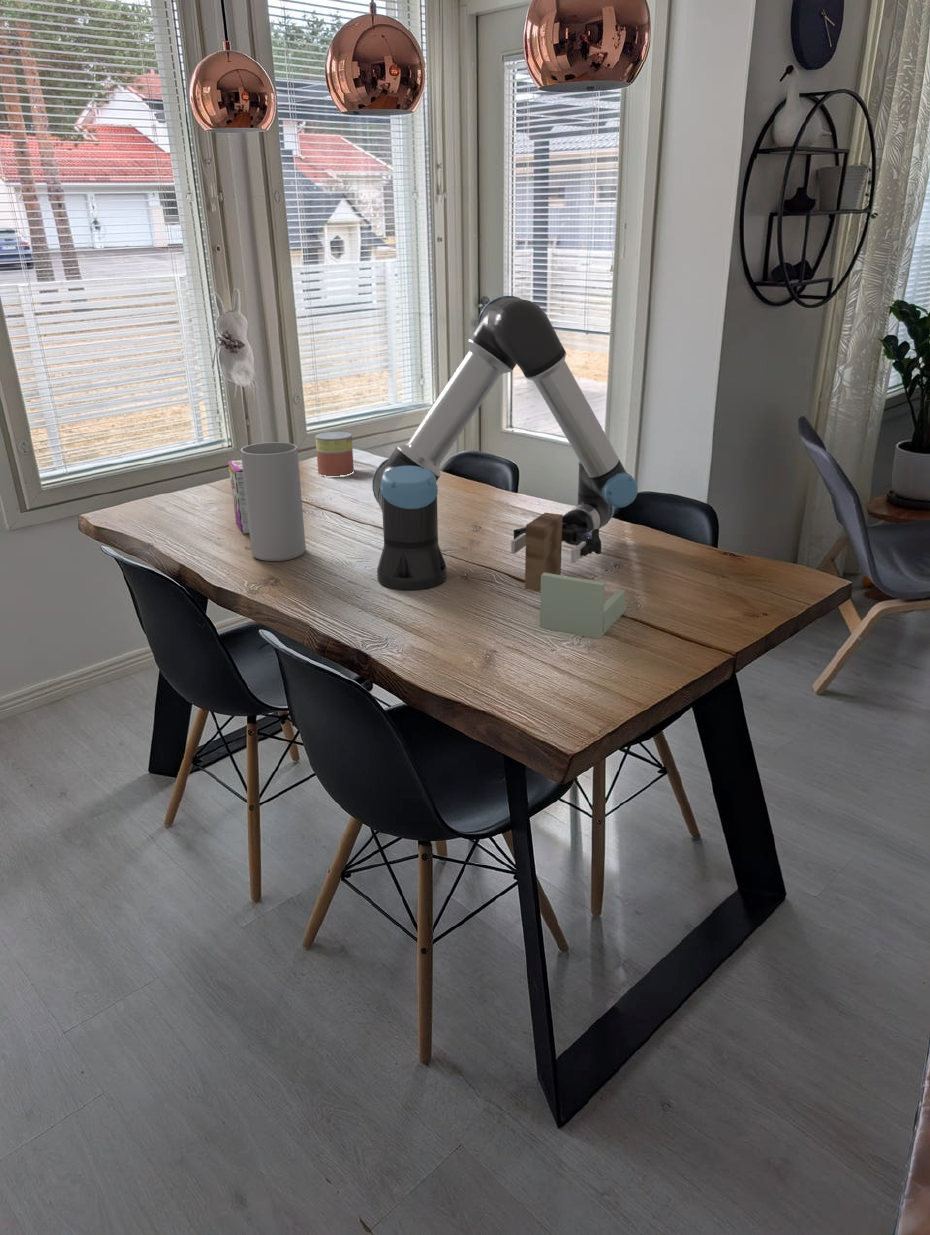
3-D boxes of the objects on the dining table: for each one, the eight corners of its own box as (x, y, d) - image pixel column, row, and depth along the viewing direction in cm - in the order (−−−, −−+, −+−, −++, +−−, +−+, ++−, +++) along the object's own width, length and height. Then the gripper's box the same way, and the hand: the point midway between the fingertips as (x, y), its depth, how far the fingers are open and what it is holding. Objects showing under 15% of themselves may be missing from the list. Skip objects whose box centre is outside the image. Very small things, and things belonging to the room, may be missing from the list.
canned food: (360, 474, 282) (357, 436, 277) (326, 479, 277) (323, 440, 272) (345, 467, 291) (343, 430, 286) (312, 472, 286) (309, 434, 281)
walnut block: (542, 591, 189) (544, 527, 184) (524, 588, 191) (526, 525, 185) (560, 576, 197) (562, 514, 192) (543, 573, 199) (545, 512, 194)
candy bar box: (234, 522, 237) (227, 460, 230) (253, 520, 238) (247, 459, 232) (241, 535, 227) (234, 470, 221) (261, 532, 229) (254, 468, 222)
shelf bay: (599, 638, 167) (602, 585, 163) (539, 627, 172) (540, 575, 168) (627, 609, 180) (630, 558, 176) (570, 599, 185) (572, 549, 181)
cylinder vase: (241, 553, 214) (229, 448, 204) (286, 541, 222) (276, 439, 212) (271, 566, 205) (260, 457, 196) (316, 553, 213) (308, 447, 204)
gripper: (630, 548, 203) (598, 577, 186) (528, 533, 214) (488, 560, 197) (632, 515, 200) (599, 543, 183) (528, 502, 211) (488, 527, 194)
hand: (542, 552), depth 190 cm, fingers open, 13 cm apart
